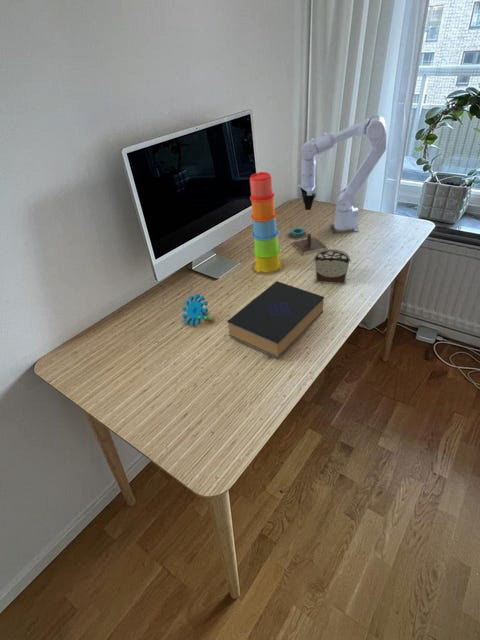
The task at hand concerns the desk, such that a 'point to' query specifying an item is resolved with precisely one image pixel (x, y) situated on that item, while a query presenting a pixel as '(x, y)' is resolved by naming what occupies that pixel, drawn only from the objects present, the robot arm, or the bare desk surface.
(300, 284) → the desk surface
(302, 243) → the ring toss
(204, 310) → the blue knobbed toy
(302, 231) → the ring
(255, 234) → the stacking cups
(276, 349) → the book
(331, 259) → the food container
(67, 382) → the desk surface
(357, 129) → the robot arm
